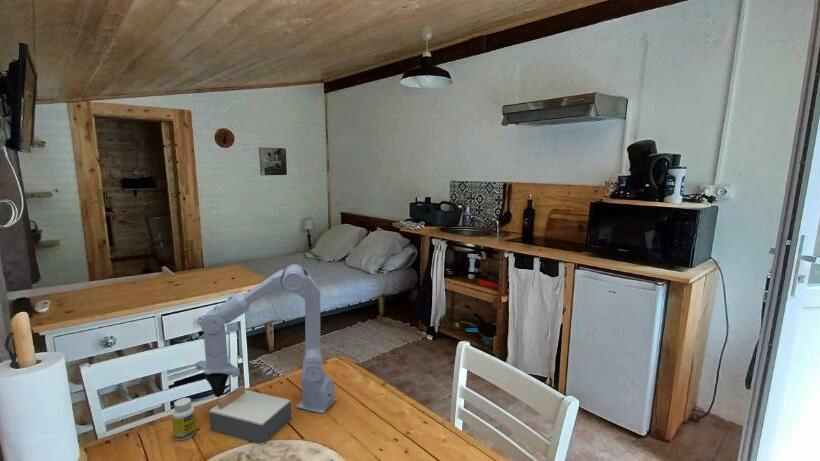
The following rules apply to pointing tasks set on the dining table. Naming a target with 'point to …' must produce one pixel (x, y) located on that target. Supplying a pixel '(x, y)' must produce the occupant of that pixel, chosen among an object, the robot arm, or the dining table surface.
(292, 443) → the dining table surface
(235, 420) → the gray open box
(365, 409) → the dining table surface
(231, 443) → the dining table surface
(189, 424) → the supplement bottle
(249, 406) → the lid
